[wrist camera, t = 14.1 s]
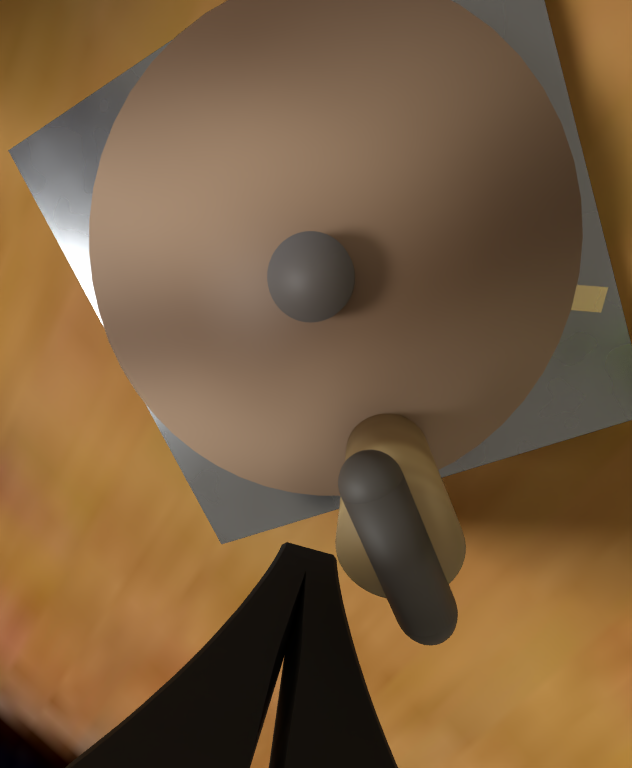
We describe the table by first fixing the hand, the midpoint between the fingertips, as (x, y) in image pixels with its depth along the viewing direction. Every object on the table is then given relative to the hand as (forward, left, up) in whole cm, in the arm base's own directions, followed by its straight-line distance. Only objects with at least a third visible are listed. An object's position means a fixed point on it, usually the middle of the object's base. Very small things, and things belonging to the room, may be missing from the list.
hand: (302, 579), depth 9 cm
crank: (-6, +3, -2) cm, 7 cm away
